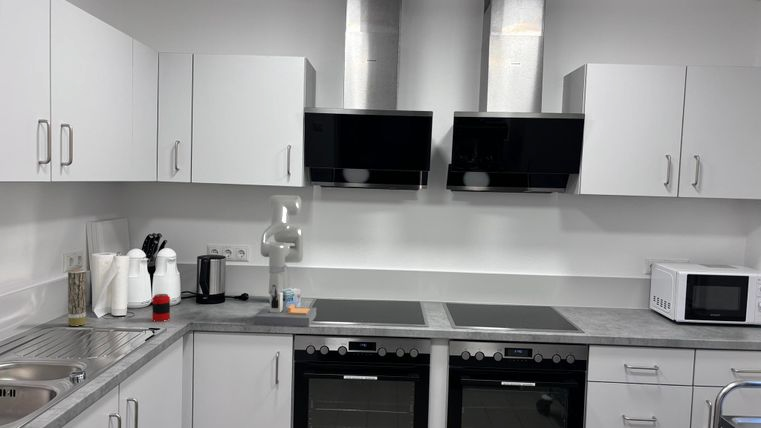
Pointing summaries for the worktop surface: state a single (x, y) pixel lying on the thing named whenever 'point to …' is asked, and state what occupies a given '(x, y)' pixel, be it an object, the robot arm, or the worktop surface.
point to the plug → (280, 303)
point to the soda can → (161, 307)
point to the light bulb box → (291, 297)
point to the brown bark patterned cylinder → (76, 297)
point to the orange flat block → (297, 310)
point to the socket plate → (284, 317)
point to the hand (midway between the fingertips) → (276, 306)
